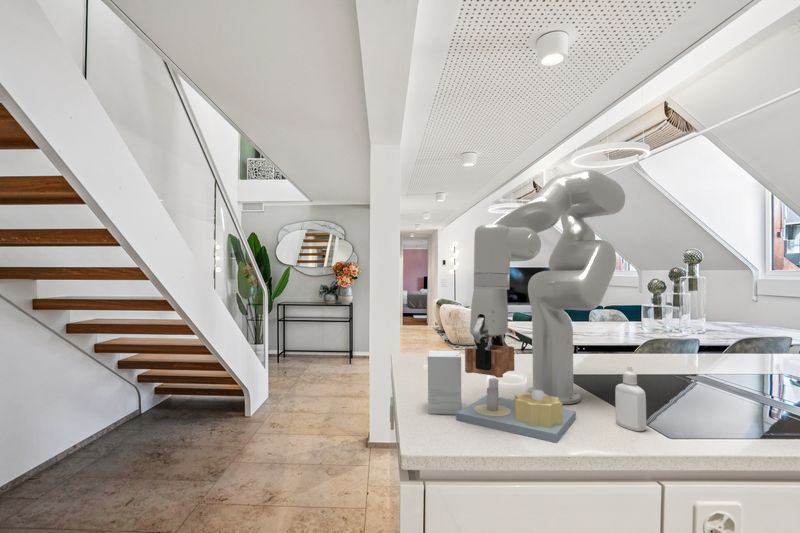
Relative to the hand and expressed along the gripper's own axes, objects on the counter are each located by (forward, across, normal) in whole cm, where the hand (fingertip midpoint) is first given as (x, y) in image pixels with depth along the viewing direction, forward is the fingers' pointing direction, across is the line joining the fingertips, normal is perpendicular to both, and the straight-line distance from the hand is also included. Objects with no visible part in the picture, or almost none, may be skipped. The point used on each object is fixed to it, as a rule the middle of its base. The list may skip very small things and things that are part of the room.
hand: (490, 366), depth 85 cm
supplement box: (+11, 0, -11) cm, 15 cm away
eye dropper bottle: (+11, -12, +25) cm, 29 cm away
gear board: (+11, -3, +5) cm, 12 cm away
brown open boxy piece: (+1, 0, 0) cm, 1 cm away
